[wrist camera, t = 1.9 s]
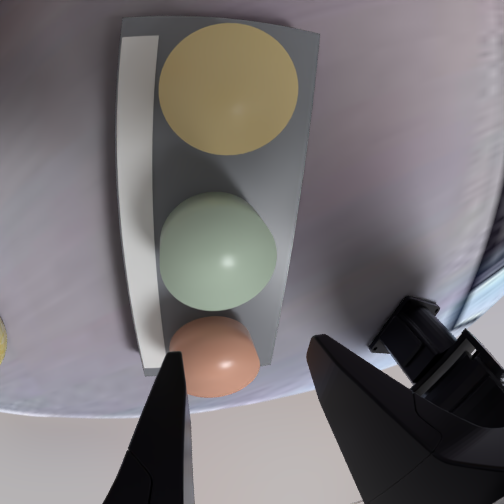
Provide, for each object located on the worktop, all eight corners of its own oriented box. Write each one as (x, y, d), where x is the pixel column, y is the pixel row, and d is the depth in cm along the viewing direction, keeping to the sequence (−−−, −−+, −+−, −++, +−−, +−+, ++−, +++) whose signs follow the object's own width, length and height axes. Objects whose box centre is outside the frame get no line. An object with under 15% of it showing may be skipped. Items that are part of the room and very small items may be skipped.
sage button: (269, 191, 14) (284, 207, 12) (258, 283, 16) (269, 306, 15) (158, 192, 13) (156, 209, 11) (163, 288, 15) (163, 314, 13)
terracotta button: (255, 312, 17) (264, 336, 16) (247, 369, 20) (255, 391, 18) (165, 319, 16) (167, 345, 14) (172, 376, 18) (175, 400, 17)
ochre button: (285, 41, 11) (304, 34, 9) (274, 148, 13) (290, 158, 11) (165, 31, 9) (164, 19, 8) (158, 146, 12) (155, 155, 10)
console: (303, 39, 13) (320, 33, 12) (263, 345, 23) (271, 365, 21) (128, 26, 11) (122, 17, 9) (144, 355, 21) (145, 377, 19)
